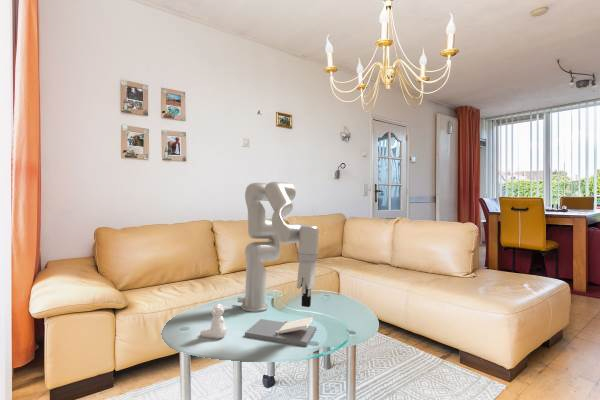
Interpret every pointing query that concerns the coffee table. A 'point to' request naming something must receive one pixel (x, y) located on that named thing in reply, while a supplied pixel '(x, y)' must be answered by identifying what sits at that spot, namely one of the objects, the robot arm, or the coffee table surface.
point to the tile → (296, 325)
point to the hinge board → (271, 333)
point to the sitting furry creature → (216, 324)
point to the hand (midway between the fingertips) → (306, 306)
